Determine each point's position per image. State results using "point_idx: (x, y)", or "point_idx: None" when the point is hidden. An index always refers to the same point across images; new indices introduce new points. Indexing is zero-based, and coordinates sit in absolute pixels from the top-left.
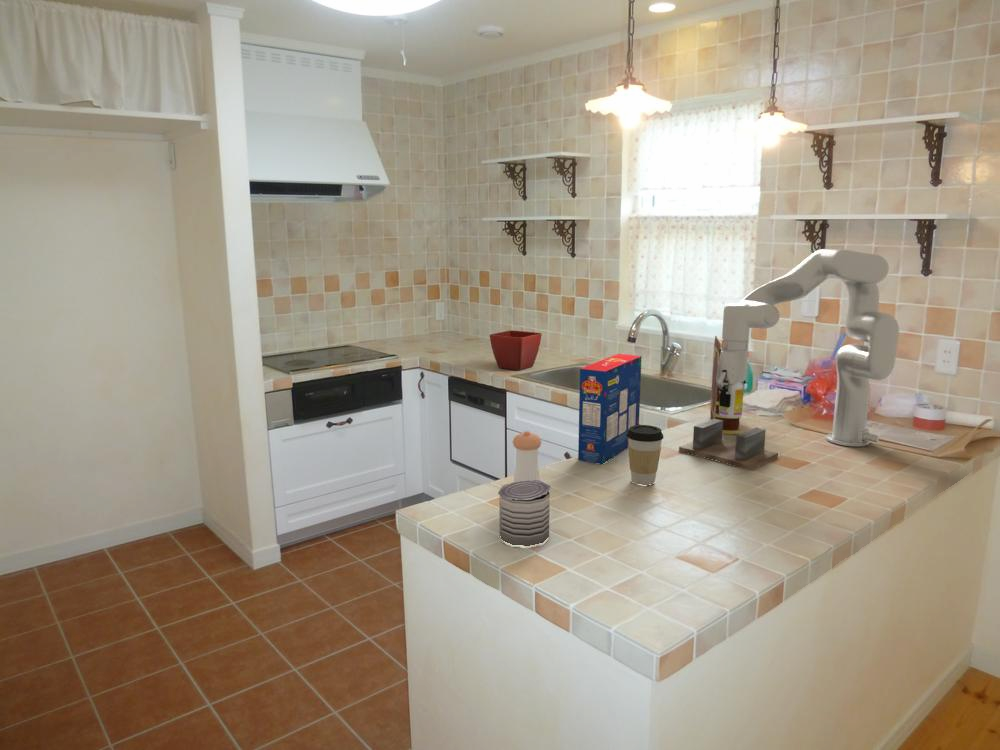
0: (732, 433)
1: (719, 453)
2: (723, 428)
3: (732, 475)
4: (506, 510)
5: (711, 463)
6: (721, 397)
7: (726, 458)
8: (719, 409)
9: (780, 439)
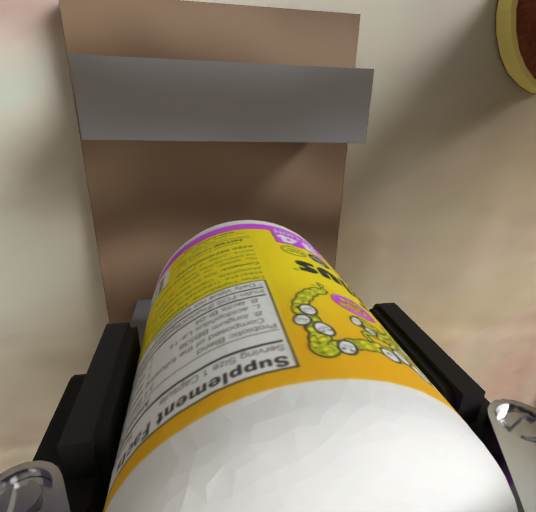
0: (513, 75)
1: (145, 221)
2: (523, 25)
3: (8, 355)
4: None
5: (57, 229)
6: (46, 436)
7: (107, 279)
8: (174, 265)
9: (531, 251)
